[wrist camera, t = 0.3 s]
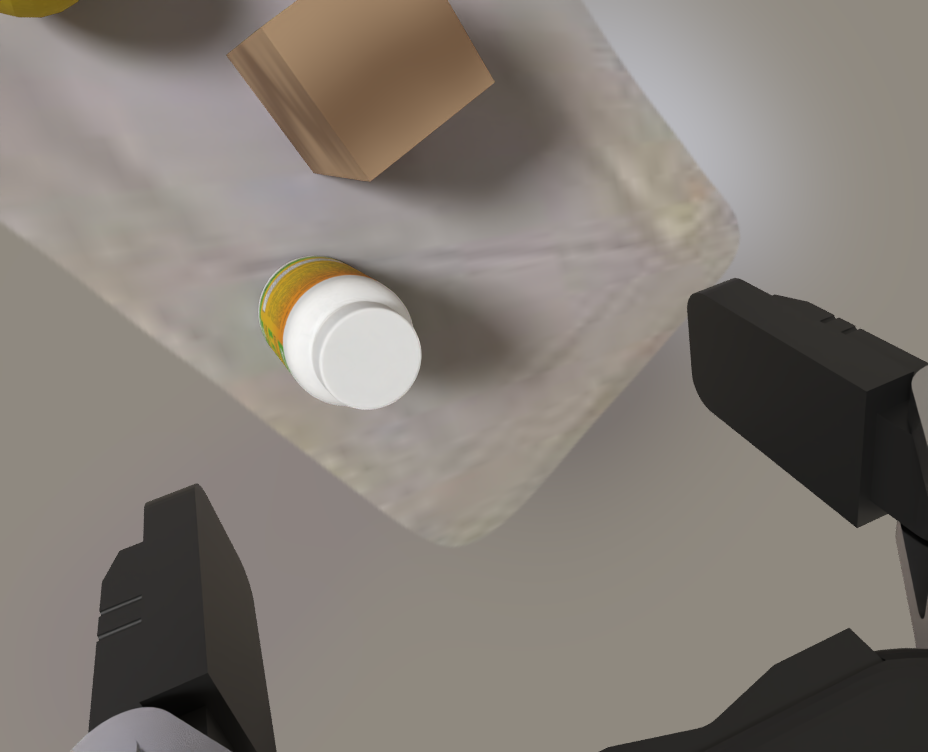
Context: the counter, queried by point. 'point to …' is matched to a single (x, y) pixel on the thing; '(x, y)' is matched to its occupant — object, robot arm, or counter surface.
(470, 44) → the brown wooden block
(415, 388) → the counter surface
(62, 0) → the lemon
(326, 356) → the supplement bottle
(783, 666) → the robot arm
